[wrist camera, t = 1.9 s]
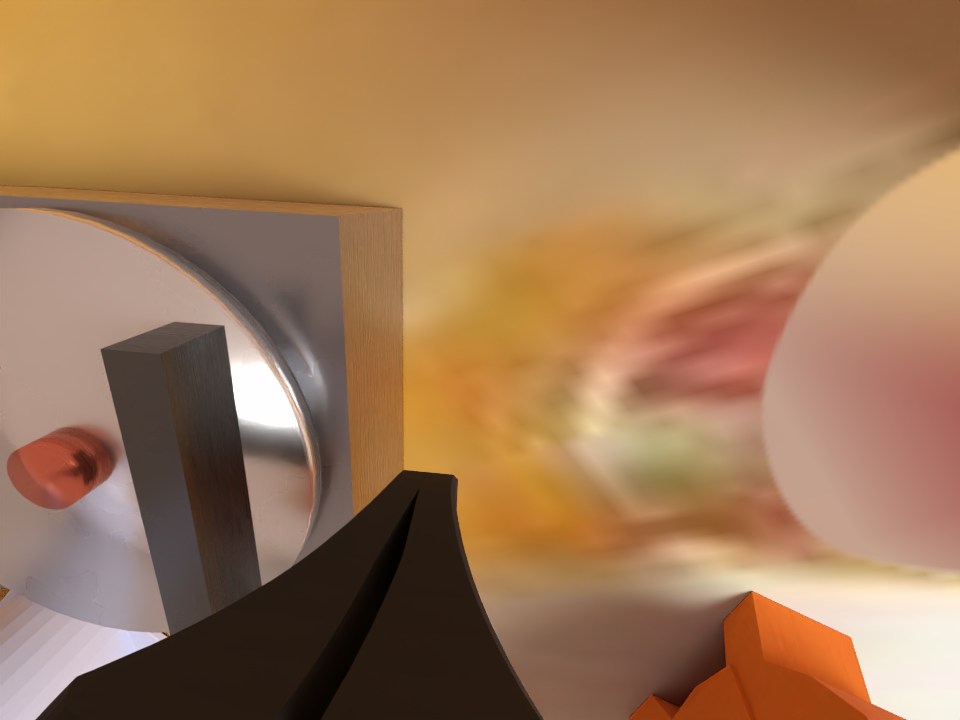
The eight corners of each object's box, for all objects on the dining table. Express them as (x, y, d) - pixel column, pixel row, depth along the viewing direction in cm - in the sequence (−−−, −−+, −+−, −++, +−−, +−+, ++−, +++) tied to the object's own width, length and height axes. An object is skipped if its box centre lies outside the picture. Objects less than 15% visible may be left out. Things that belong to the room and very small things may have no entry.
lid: (-29, 588, 15) (-141, 668, 13) (-198, 192, 11) (-421, 191, 9) (334, 631, 15) (294, 726, 12) (303, 223, 10) (230, 233, 8)
